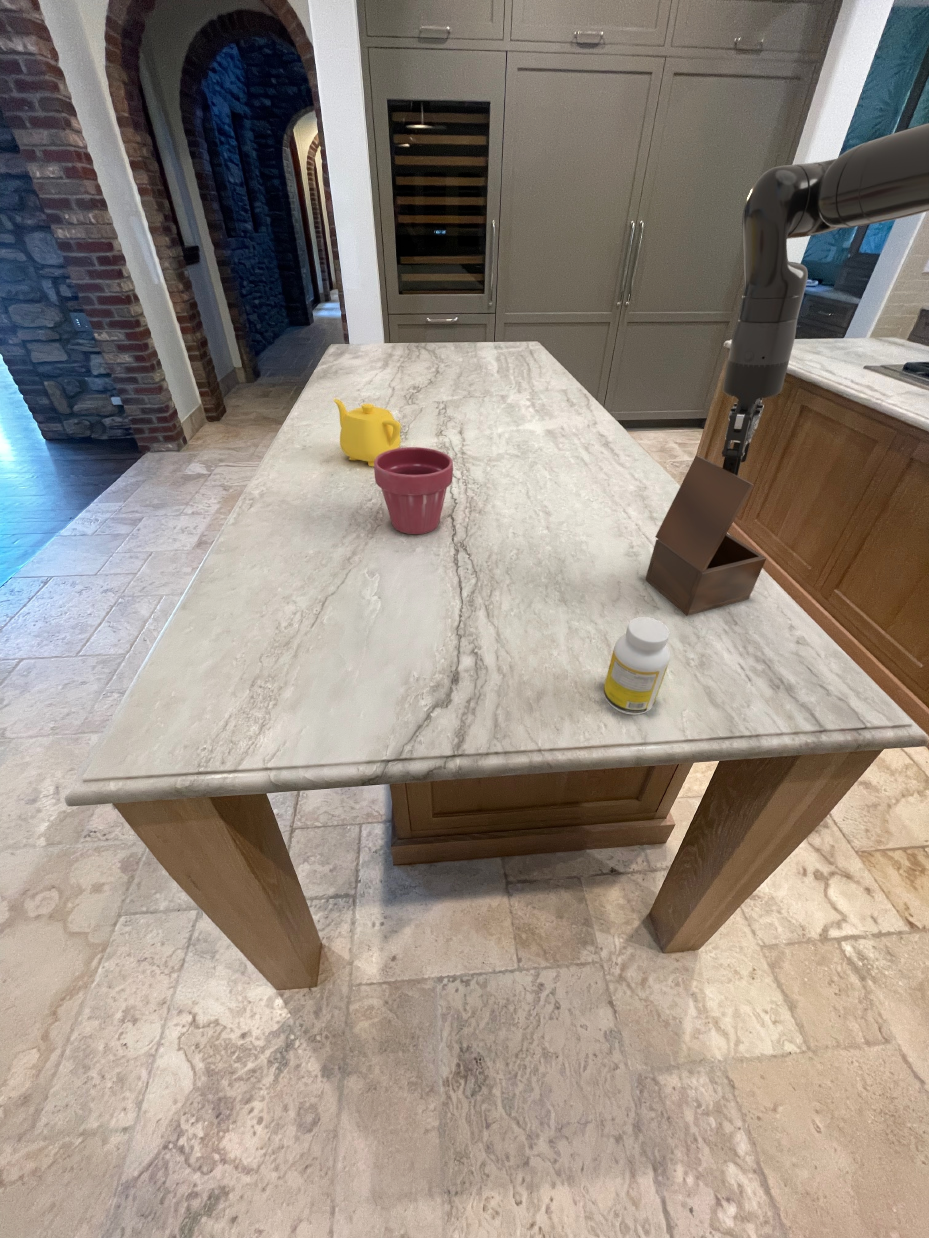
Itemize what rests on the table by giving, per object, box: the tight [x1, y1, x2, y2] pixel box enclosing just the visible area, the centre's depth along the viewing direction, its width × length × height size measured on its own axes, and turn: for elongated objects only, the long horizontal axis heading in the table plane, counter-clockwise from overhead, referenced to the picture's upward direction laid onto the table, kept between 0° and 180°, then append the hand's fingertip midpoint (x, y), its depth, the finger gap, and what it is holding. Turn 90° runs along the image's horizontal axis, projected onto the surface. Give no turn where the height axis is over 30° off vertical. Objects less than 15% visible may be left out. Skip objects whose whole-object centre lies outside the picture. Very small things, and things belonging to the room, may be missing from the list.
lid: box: [655, 455, 755, 571], centre depth 78 cm, size 13×11×1 cm
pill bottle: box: [603, 616, 671, 715], centre depth 65 cm, size 6×6×12 cm
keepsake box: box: [644, 532, 767, 617], centre depth 86 cm, size 13×11×8 cm
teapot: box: [333, 398, 402, 467], centre depth 127 cm, size 13×20×12 cm
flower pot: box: [373, 446, 454, 535], centre depth 101 cm, size 14×14×13 cm
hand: (733, 470), depth 82 cm, fingers open, 8 cm apart
